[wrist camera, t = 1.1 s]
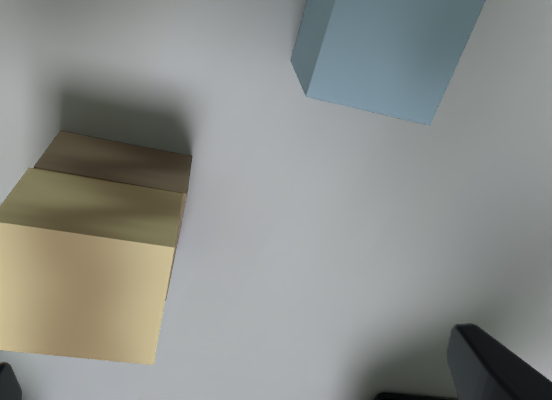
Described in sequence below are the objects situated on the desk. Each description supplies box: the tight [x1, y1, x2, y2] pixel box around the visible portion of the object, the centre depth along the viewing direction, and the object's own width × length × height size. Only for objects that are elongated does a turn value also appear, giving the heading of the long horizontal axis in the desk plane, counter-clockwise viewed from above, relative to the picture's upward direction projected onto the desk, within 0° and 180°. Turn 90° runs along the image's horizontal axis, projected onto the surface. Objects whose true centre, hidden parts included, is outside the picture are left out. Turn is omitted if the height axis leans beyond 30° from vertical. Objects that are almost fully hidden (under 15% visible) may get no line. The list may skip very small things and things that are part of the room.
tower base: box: [34, 131, 192, 301], centre depth 21 cm, size 6×6×4 cm
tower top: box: [0, 168, 183, 365], centre depth 18 cm, size 6×6×4 cm
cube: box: [291, 0, 485, 126], centre depth 17 cm, size 4×4×4 cm
